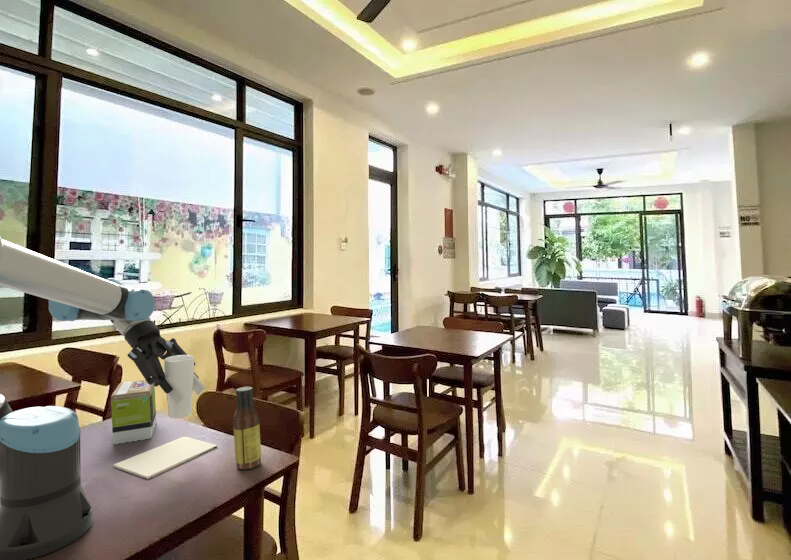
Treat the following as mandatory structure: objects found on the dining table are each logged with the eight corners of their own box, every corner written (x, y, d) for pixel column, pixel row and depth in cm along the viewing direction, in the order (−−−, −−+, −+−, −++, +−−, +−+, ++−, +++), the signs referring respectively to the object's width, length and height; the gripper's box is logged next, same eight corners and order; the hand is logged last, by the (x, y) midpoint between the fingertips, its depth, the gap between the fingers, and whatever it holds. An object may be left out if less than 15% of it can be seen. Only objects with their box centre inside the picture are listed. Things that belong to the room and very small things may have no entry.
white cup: (181, 422, 104) (180, 362, 103) (158, 419, 105) (157, 360, 104) (200, 412, 110) (199, 355, 109) (178, 409, 112) (177, 353, 111)
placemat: (147, 479, 100) (147, 476, 100) (113, 466, 107) (113, 464, 107) (217, 447, 118) (217, 445, 118) (184, 438, 125) (184, 436, 125)
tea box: (120, 427, 134) (119, 381, 133) (157, 422, 138) (156, 377, 137) (111, 445, 120) (110, 394, 119) (152, 439, 124) (151, 389, 124)
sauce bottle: (264, 459, 110) (263, 384, 110) (256, 471, 104) (254, 391, 104) (239, 459, 111) (238, 384, 110) (230, 471, 104) (228, 391, 104)
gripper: (159, 331, 120) (209, 393, 117) (94, 345, 101) (152, 419, 98) (174, 314, 118) (225, 375, 115) (111, 325, 99) (170, 399, 96)
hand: (191, 395), depth 106 cm, fingers closed on white cup, 7 cm apart
